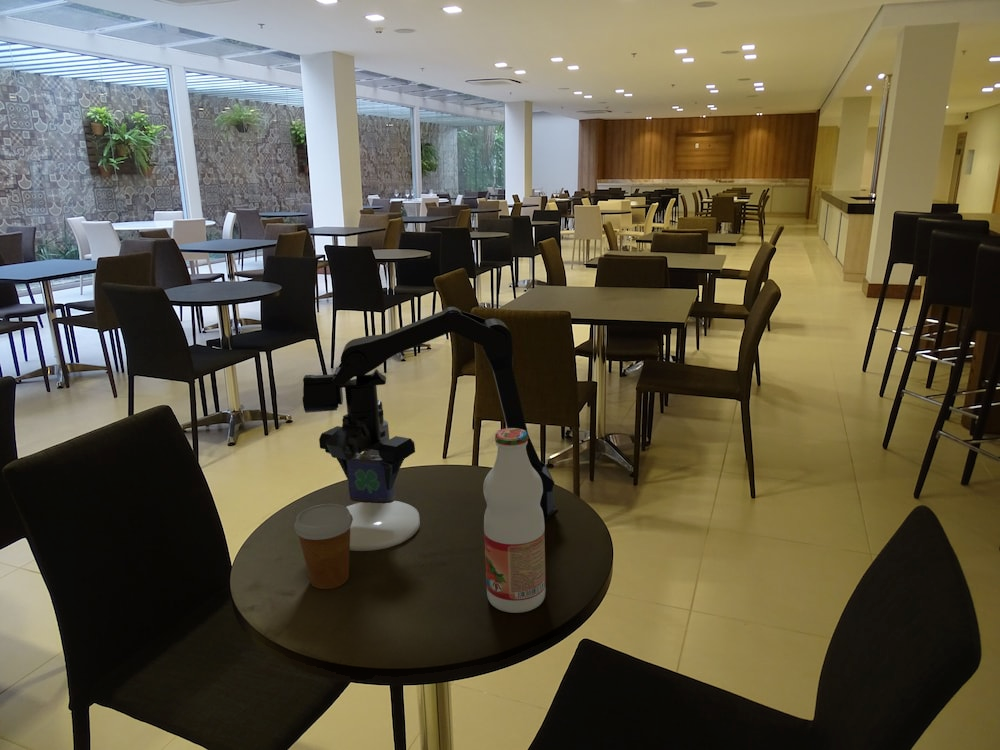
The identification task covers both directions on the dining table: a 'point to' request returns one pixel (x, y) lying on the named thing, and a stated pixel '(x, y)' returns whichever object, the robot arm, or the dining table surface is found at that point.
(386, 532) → the plate
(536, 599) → the fruit juice
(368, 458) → the flask
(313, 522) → the disposable coffee cup
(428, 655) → the dining table surface
